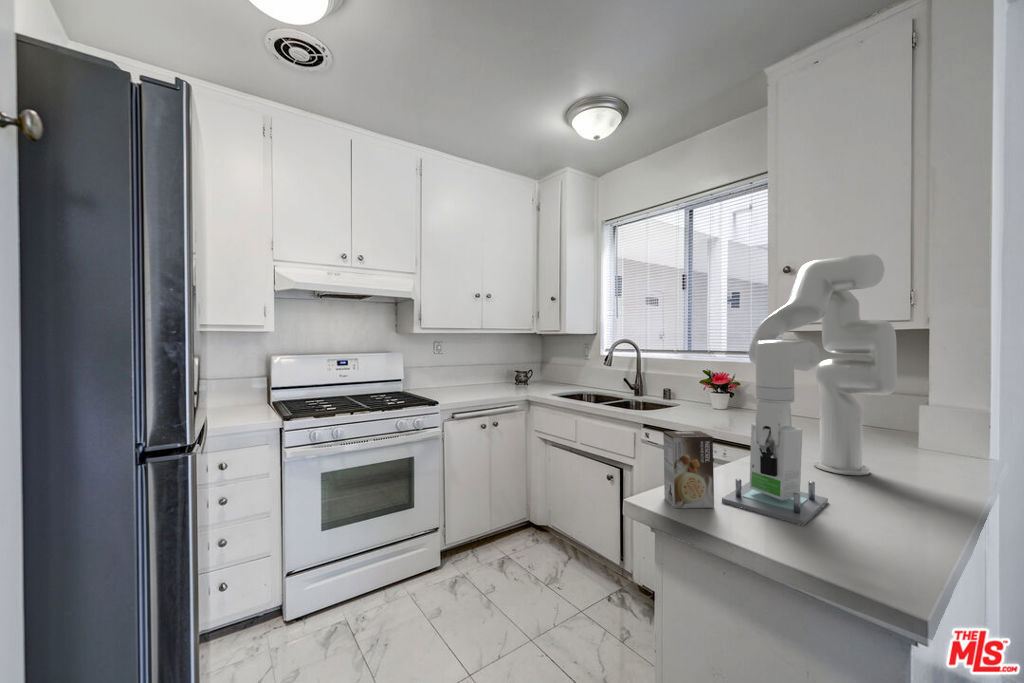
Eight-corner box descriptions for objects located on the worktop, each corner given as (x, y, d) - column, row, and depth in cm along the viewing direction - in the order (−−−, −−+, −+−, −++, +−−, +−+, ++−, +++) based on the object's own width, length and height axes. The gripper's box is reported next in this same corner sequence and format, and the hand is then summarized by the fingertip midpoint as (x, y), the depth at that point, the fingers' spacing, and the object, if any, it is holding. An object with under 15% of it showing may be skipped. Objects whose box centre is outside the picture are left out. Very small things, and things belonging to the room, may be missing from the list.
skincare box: (748, 488, 98) (748, 423, 98) (767, 484, 101) (767, 420, 101) (784, 501, 90) (783, 430, 90) (803, 496, 93) (803, 427, 93)
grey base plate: (752, 484, 107) (751, 479, 107) (827, 502, 95) (827, 497, 95) (721, 502, 96) (721, 497, 96) (803, 526, 83) (803, 520, 83)
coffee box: (701, 497, 99) (701, 430, 99) (714, 508, 92) (714, 436, 92) (663, 497, 99) (662, 430, 99) (673, 509, 92) (673, 437, 92)
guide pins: (754, 484, 104) (754, 468, 104) (815, 499, 94) (815, 482, 94) (734, 496, 96) (734, 479, 96) (799, 514, 87) (799, 495, 87)
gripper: (769, 389, 104) (770, 459, 104) (741, 396, 92) (742, 475, 93) (805, 392, 98) (805, 466, 98) (780, 400, 87) (780, 484, 87)
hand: (775, 470), depth 95 cm, fingers closed on skincare box, 7 cm apart
